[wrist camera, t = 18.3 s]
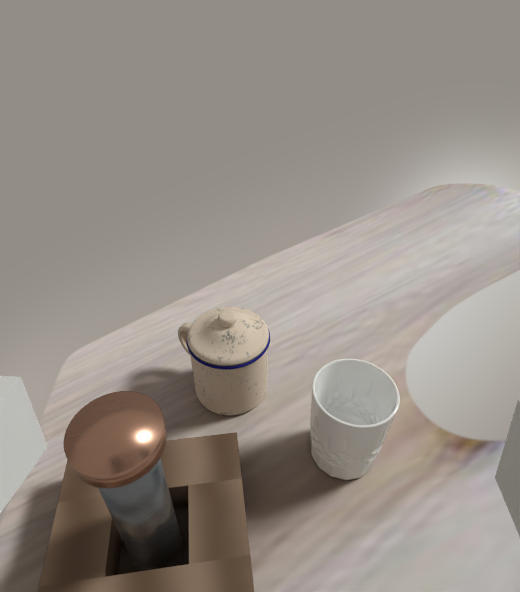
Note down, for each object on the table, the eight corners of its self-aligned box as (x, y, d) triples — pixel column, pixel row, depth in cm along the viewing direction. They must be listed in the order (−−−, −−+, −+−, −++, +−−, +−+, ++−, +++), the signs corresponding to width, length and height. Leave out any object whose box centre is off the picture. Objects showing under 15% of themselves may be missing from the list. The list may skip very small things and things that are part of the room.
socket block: (237, 454, 45) (236, 432, 43) (258, 644, 33) (258, 628, 30) (80, 474, 44) (69, 452, 41) (39, 681, 31) (19, 669, 29)
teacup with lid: (282, 379, 53) (286, 307, 46) (240, 432, 47) (236, 359, 40) (207, 341, 58) (199, 270, 51) (159, 384, 52) (144, 312, 45)
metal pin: (190, 509, 41) (165, 386, 30) (191, 581, 36) (161, 468, 25) (126, 518, 40) (74, 396, 29) (118, 592, 36) (53, 481, 24)
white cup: (393, 447, 46) (414, 386, 40) (354, 503, 41) (372, 444, 35) (331, 407, 50) (342, 346, 44) (289, 453, 45) (295, 393, 39)
